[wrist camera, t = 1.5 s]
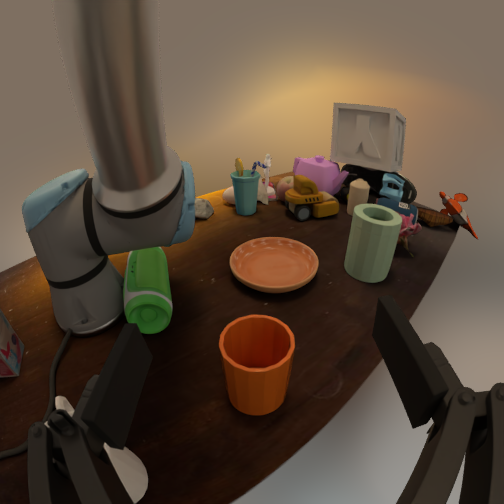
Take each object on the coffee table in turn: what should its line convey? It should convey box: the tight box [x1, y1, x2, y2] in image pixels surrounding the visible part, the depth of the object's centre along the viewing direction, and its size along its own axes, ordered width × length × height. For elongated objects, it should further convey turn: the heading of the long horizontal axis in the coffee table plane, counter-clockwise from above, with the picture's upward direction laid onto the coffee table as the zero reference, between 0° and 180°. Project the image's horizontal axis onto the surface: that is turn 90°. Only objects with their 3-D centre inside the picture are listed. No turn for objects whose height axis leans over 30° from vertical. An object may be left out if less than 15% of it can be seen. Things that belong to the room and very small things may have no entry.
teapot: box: [293, 156, 349, 196], centre depth 82 cm, size 20×12×13 cm, turn 42°
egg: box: [223, 186, 235, 204], centre depth 79 cm, size 6×6×8 cm
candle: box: [347, 179, 370, 216], centre depth 72 cm, size 6×6×10 cm
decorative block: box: [330, 103, 406, 172], centre depth 76 cm, size 19×19×20 cm
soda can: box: [376, 197, 418, 225], centre depth 67 cm, size 7×7×12 cm
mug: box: [44, 396, 148, 504], centre depth 18 cm, size 8×12×10 cm
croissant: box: [416, 207, 453, 227], centre depth 68 cm, size 14×7×5 cm
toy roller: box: [285, 175, 339, 221], centre depth 71 cm, size 9×14×10 cm, turn 105°
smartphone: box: [257, 182, 277, 201], centre depth 88 cm, size 7×1×15 cm
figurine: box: [264, 154, 275, 196], centre depth 82 cm, size 7×7×12 cm
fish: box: [440, 192, 478, 239], centre depth 67 cm, size 20×12×15 cm
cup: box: [231, 158, 267, 215], centre depth 71 cm, size 14×8×15 cm, turn 38°
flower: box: [397, 213, 422, 255], centre depth 57 cm, size 11×10×10 cm
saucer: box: [230, 237, 319, 293], centre depth 51 cm, size 16×16×3 cm
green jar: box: [344, 204, 402, 283], centre depth 49 cm, size 9×9×12 cm
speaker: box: [123, 247, 172, 334], centre depth 43 cm, size 18×7×8 cm
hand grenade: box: [340, 187, 350, 202], centre depth 80 cm, size 4×4×10 cm
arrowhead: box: [257, 176, 269, 205], centre depth 79 cm, size 8×2×10 cm
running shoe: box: [341, 164, 417, 204], centre depth 87 cm, size 11×29×12 cm
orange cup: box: [219, 315, 295, 415], centre depth 28 cm, size 7×7×10 cm
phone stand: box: [380, 173, 405, 202], centre depth 71 cm, size 8×8×12 cm
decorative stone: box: [194, 198, 214, 219], centre depth 72 cm, size 12×11×5 cm
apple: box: [277, 176, 293, 202], centre depth 79 cm, size 8×8×8 cm
